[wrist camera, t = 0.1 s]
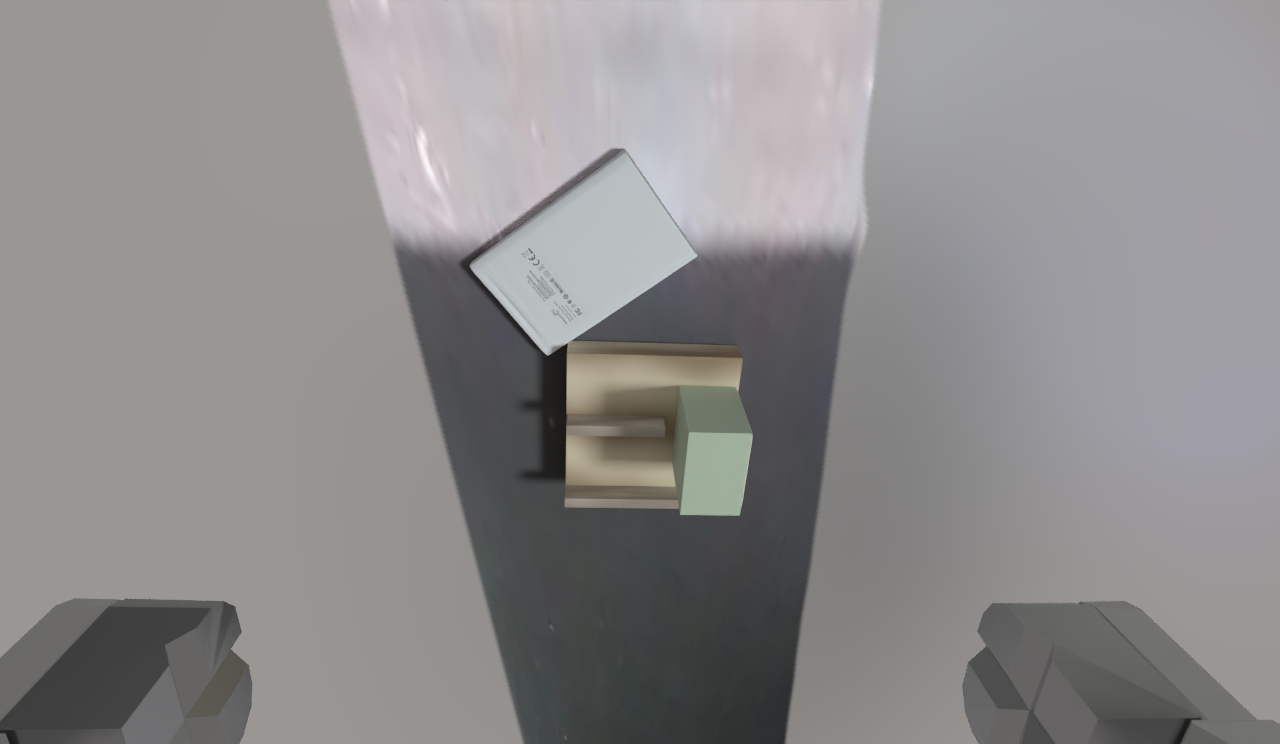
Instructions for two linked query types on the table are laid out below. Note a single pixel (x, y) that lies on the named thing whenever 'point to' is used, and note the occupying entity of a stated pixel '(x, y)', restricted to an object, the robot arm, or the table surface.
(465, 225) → the table surface
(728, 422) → the tea box
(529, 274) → the external hard drive
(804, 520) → the table surface
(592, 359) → the shelf
